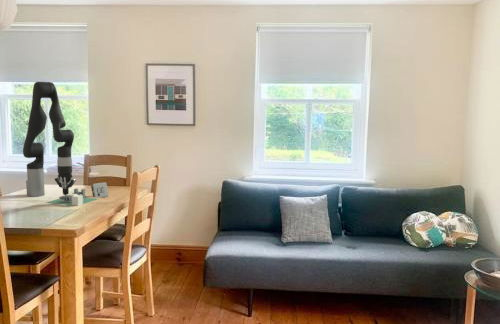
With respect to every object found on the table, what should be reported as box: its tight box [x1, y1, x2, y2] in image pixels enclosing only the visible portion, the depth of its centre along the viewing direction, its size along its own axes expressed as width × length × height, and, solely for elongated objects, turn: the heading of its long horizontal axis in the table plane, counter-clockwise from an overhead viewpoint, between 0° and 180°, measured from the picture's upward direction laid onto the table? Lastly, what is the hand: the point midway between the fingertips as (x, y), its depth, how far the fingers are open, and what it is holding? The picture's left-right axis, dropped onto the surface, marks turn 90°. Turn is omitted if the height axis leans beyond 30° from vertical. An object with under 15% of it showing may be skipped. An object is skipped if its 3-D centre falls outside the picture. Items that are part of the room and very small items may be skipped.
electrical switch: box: [90, 181, 109, 199], centre depth 252 cm, size 9×5×9 cm, turn 141°
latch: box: [66, 193, 84, 207], centre depth 226 cm, size 8×4×6 cm, turn 76°
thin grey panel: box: [58, 191, 81, 199], centre depth 234 cm, size 16×3×1 cm, turn 166°
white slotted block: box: [60, 197, 84, 203], centre depth 234 cm, size 9×9×3 cm
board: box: [45, 187, 98, 206], centre depth 235 cm, size 22×19×7 cm
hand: (65, 194), depth 229 cm, fingers closed
